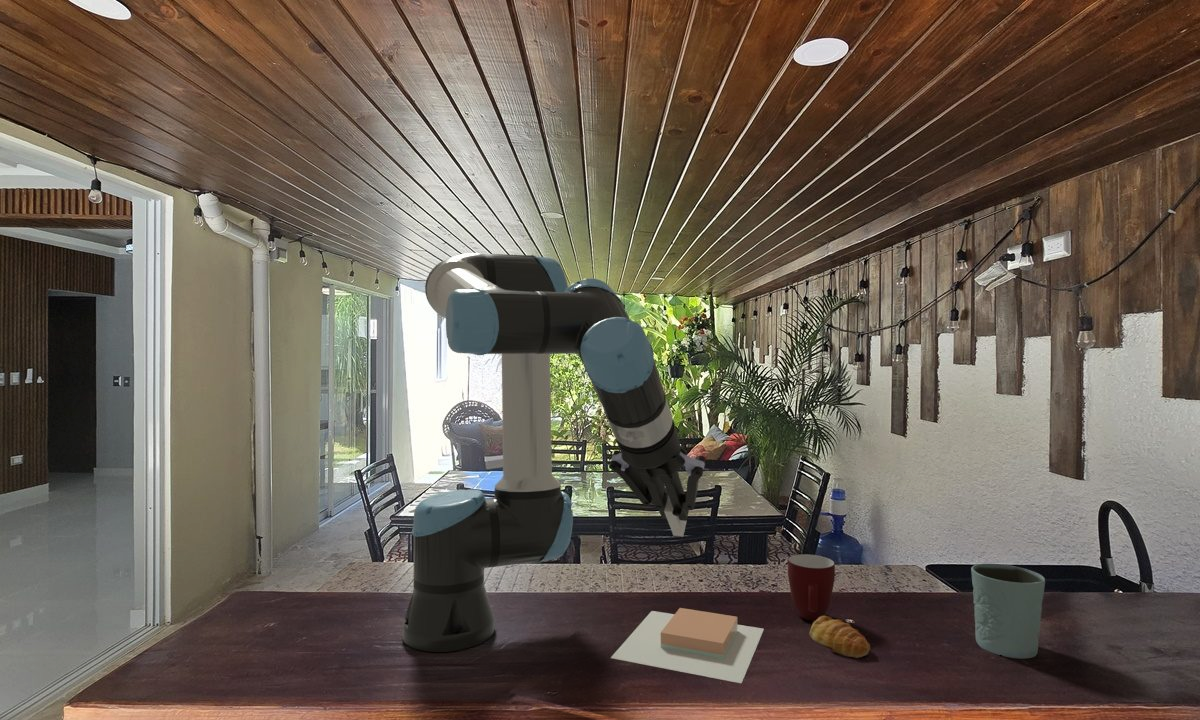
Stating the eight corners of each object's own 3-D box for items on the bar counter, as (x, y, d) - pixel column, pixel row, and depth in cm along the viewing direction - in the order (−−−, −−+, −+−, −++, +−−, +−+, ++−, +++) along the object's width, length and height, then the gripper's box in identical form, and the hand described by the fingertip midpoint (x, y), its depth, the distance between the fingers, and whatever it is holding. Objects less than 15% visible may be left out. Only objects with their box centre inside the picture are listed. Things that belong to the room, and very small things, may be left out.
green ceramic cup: (963, 646, 107) (963, 572, 107) (979, 627, 114) (980, 558, 114) (1037, 667, 100) (1038, 588, 100) (1049, 645, 107) (1050, 571, 107)
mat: (610, 661, 102) (610, 657, 102) (651, 614, 120) (651, 610, 120) (741, 687, 94) (741, 683, 94) (764, 632, 112) (764, 628, 112)
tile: (660, 632, 105) (679, 607, 115) (660, 647, 105) (679, 621, 115) (723, 643, 101) (737, 616, 111) (723, 659, 101) (737, 631, 111)
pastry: (880, 654, 105) (880, 630, 105) (852, 665, 101) (852, 640, 101) (831, 632, 113) (831, 610, 113) (804, 642, 109) (804, 619, 109)
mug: (843, 632, 112) (843, 574, 112) (794, 630, 113) (794, 572, 113) (828, 608, 123) (829, 554, 122) (784, 606, 124) (784, 553, 123)
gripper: (586, 448, 81) (632, 545, 97) (689, 455, 76) (720, 556, 92) (602, 401, 86) (644, 501, 102) (700, 405, 81) (728, 510, 97)
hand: (680, 527), depth 97 cm, fingers closed
